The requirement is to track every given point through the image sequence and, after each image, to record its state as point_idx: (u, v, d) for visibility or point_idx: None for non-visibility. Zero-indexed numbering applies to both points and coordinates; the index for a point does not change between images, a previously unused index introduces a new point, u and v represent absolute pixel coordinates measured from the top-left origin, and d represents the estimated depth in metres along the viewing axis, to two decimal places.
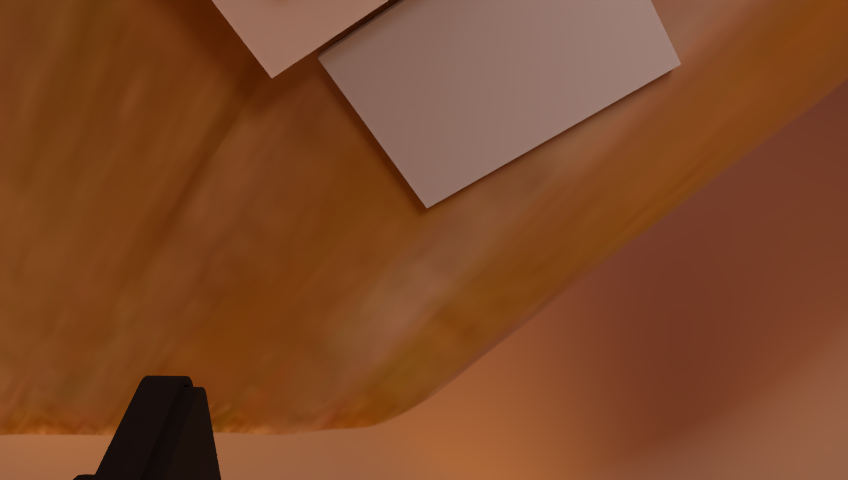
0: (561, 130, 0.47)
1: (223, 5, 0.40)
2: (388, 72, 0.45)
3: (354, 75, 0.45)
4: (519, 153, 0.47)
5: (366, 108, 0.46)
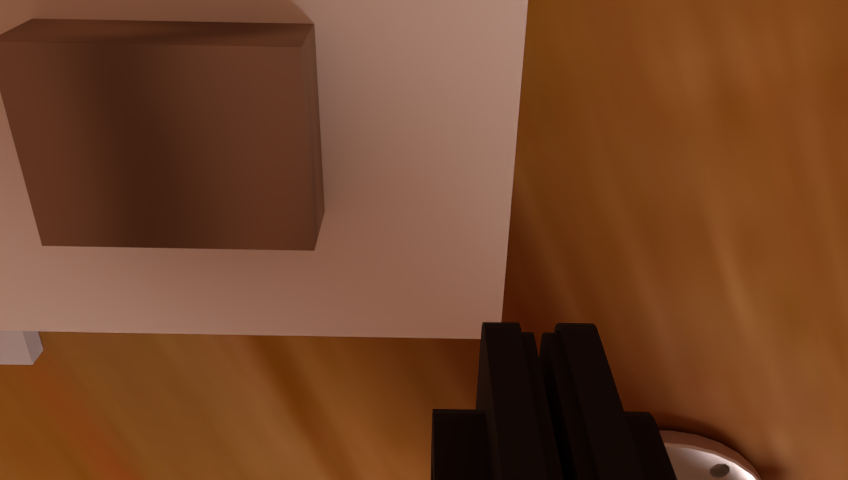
0: None
1: None
2: None
3: None
4: None
5: None
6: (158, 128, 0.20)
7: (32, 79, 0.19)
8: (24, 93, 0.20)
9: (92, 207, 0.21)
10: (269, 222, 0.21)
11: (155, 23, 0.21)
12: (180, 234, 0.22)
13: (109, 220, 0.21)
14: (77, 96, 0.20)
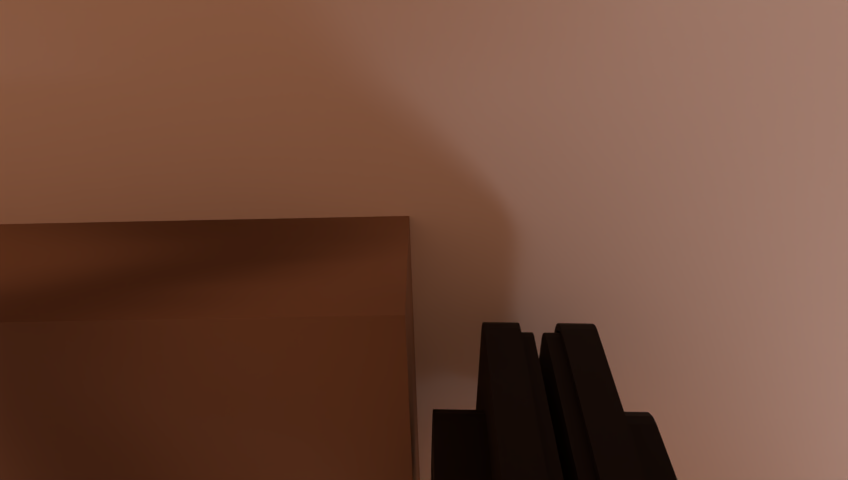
0: None
1: None
2: None
3: None
4: None
5: None
6: (118, 456, 0.10)
7: None
8: None
9: None
10: None
11: (106, 231, 0.11)
12: None
13: None
14: None
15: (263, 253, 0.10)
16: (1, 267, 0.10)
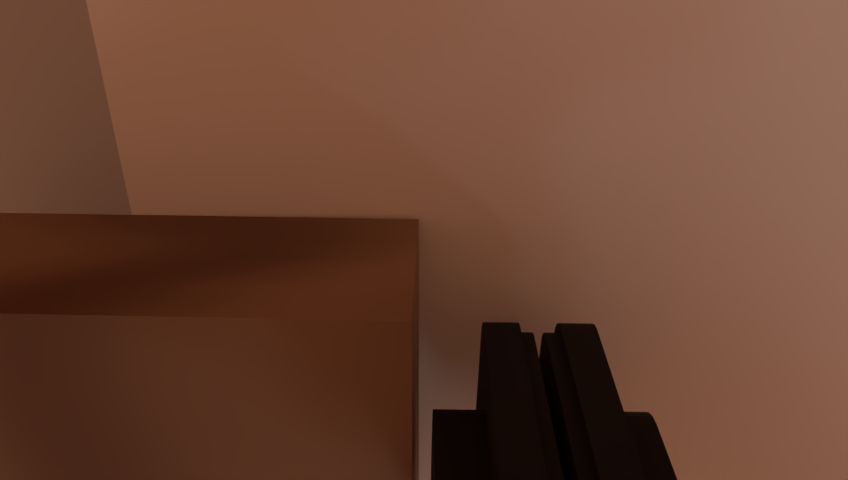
0: None
1: None
2: None
3: None
4: None
5: None
6: (115, 452, 0.10)
7: None
8: None
9: None
10: None
11: (112, 224, 0.11)
12: None
13: None
14: None
15: (269, 252, 0.10)
16: (5, 257, 0.10)
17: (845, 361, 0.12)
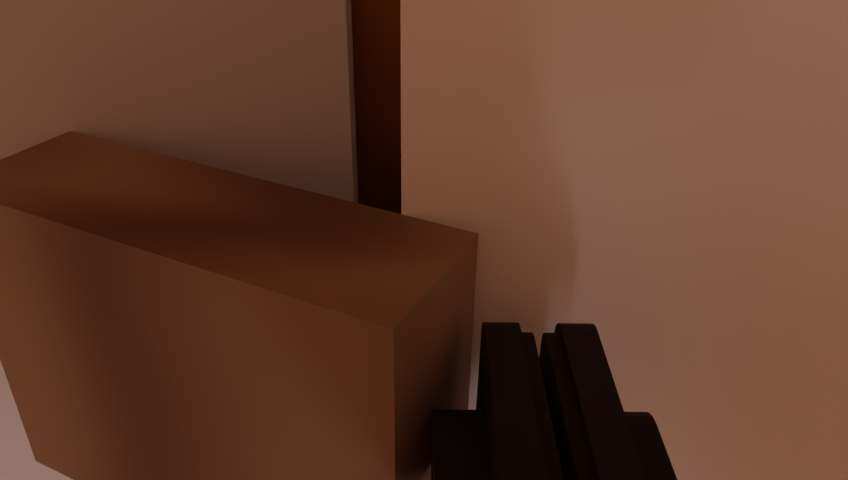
0: None
1: None
2: (184, 121, 0.13)
3: (225, 17, 0.12)
4: None
5: None
6: (161, 376, 0.11)
7: None
8: None
9: (86, 443, 0.13)
10: None
11: (216, 177, 0.12)
12: None
13: (107, 467, 0.13)
14: (52, 295, 0.12)
15: (319, 232, 0.10)
16: (121, 186, 0.12)
17: None
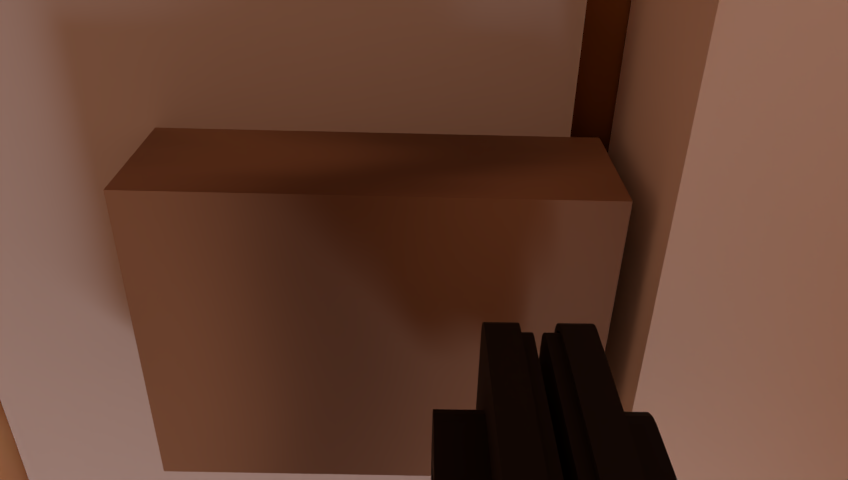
0: (7, 408, 0.17)
1: None
2: (405, 121, 0.13)
3: (463, 18, 0.12)
4: None
5: None
6: (372, 317, 0.12)
7: (174, 246, 0.12)
8: (158, 266, 0.12)
9: (249, 423, 0.14)
10: None
11: (353, 138, 0.13)
12: (380, 457, 0.14)
13: (272, 439, 0.14)
14: (245, 271, 0.12)
15: (494, 158, 0.13)
16: (283, 159, 0.12)
17: None
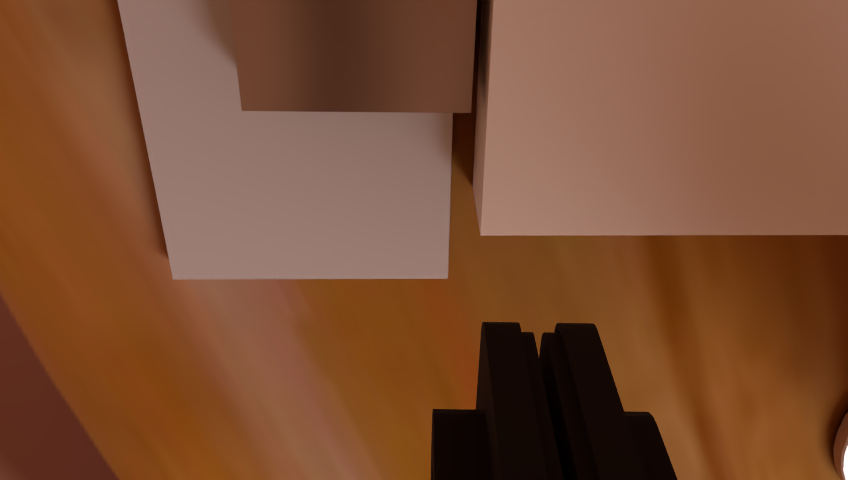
0: (141, 106, 0.28)
1: None
2: None
3: None
4: (127, 28, 0.27)
5: None
6: (354, 3, 0.24)
7: None
8: None
9: (289, 75, 0.25)
10: (436, 87, 0.26)
11: None
12: (360, 99, 0.26)
13: (301, 87, 0.26)
14: None
15: None
16: None
17: (840, 22, 0.24)
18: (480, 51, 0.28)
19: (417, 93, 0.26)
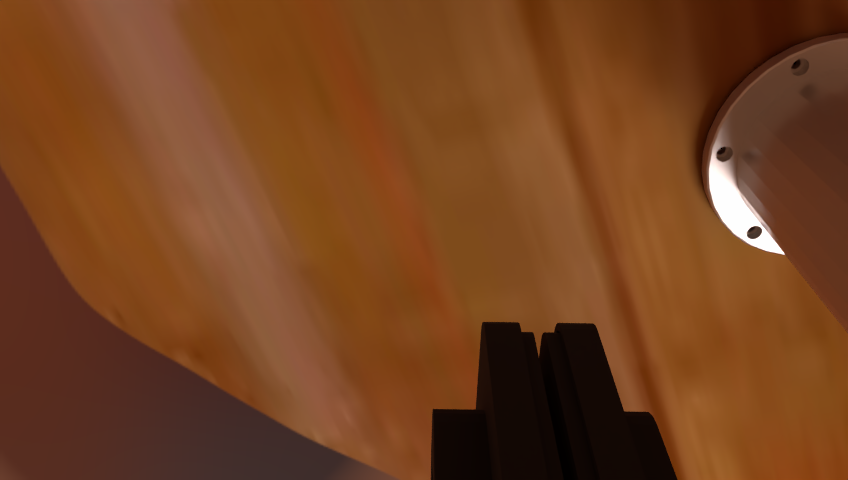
0: None
1: None
2: None
3: None
4: None
5: None
6: None
7: None
8: None
9: None
10: None
11: None
12: None
13: None
14: None
15: None
16: None
17: None
18: None
19: None
